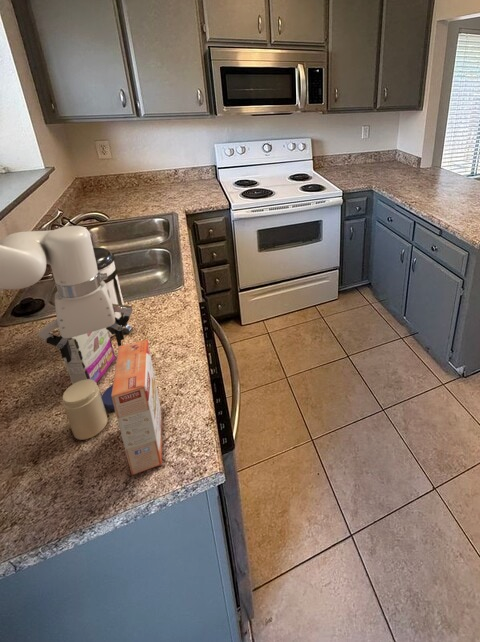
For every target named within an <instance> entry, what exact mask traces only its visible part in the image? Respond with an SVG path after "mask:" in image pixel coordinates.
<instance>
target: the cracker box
mask: <svg viewBox="0 0 480 642" xmlns="http://www.w3.org/2000/svg"><path fill="white" fill-rule="evenodd" d="M114 368H115V369H114V375H113V382H112V385H113V388H112V394H111V396H112V400H113V405H114V409H115V410H114V412H115V416H116V420H117V424H118V427H119V433H120V435H121V439H122V443H123V446H124V451H125V455H126V458H127V463H128V466H129V470H130V474H131V476H134V475H137V474H140V473H143V472H146V471H148V470H151V469H153V468H156V467H159V466H161V465H162V464H163V463H162V461H163V459H162V454H163V453H162V451H163V450H162V448H163V447H162V445H163V444H162V443H163V442H162V440H163V439H162V428H163V427H162V425H163V424H162V407H161V402H160V395H159V390H158V385H157V381H156V377H155V371H154V366H153V361H152V355H151V350H150V345H149V340H148V339H144V340H139V341H136V342H131V343H128V344H124V345H122V346H118V349H117V356H116V361H115V367H114Z"/></svg>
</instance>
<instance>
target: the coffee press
mask: <svg viewBox="0 0 480 642" xmlns="http://www.w3.org/2000/svg"><path fill="white" fill-rule="evenodd" d="M93 250H94V255H95V259H96V264H97V268H98V271H99V272H100V274H101V273H103V274H104V273H107V277H108V279H105V280H103V281H104V282H105V284H106V286H107V288H108V290H109V293H110V296H111V299H112V303H113V304H118V305H125V303H124V302H125V301H124V298H123V294H122V290H121V286H120V282H119V281H120V280H119V277H118V269H117V265H115V259H116V257H115V254H114V253H113V252H111V251H110V250H109V249H108V248H106V247H99V246H93ZM123 315H124V313H122V312H115V317H116V318H118V319H120V318H121V317H122V316H123ZM107 330H108V333H109V337H110V338H112V337H114V336H116V335H115V329H114V328H112V327H107ZM122 331H123V333H125V334H127V335H128V334H130V333H131V332H132V331H133V327H131V326H130V325H129V324H128V322H127V323H126V324H125V326H124V327H123V329H122Z"/></svg>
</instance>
